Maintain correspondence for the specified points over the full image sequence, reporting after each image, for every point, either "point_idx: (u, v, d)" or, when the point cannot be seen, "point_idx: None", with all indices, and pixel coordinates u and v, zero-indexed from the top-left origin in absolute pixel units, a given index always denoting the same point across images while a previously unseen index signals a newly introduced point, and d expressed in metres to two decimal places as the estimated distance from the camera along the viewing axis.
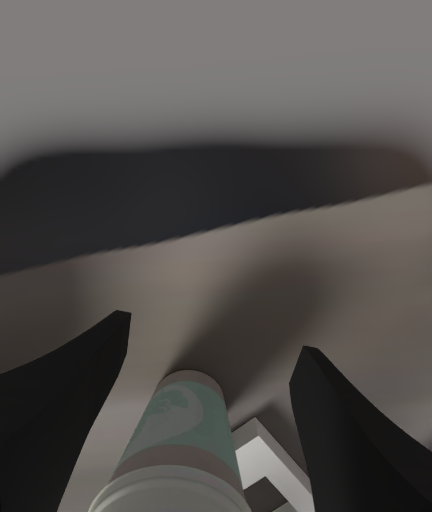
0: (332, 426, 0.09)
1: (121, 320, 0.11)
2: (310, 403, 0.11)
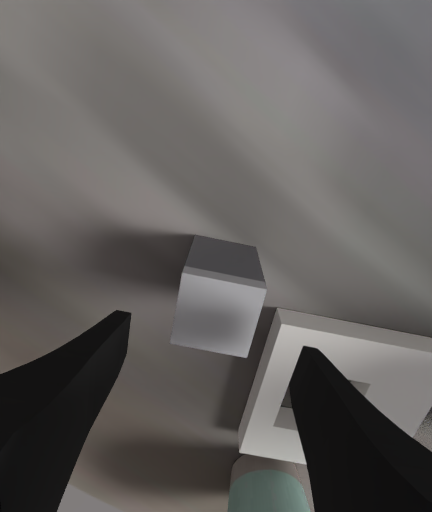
0: (332, 426, 0.09)
1: (121, 320, 0.11)
2: (310, 403, 0.11)
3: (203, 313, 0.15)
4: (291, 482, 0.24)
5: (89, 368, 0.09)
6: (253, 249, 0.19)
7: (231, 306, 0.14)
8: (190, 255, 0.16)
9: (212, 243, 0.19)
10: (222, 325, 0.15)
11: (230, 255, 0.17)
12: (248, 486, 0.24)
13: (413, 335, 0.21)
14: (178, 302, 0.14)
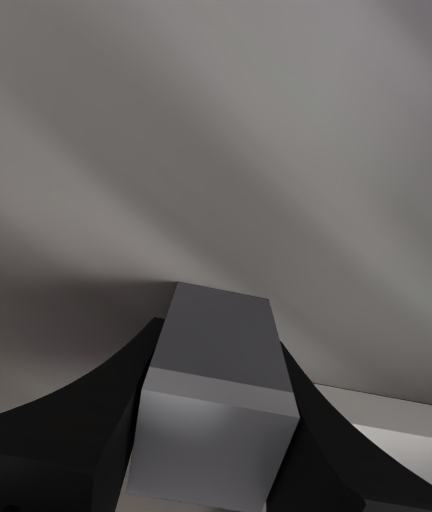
0: None
1: None
2: None
3: (183, 451, 0.08)
4: None
5: (142, 378, 0.09)
6: (265, 305, 0.13)
7: (233, 442, 0.08)
8: (164, 333, 0.10)
9: (203, 299, 0.12)
10: (217, 469, 0.08)
11: (231, 326, 0.11)
12: None
13: None
14: (137, 434, 0.08)
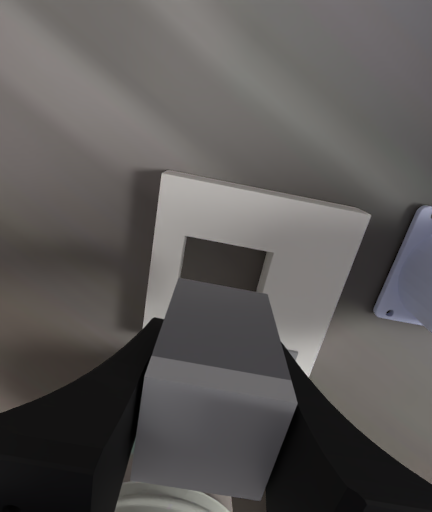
0: None
1: None
2: None
3: (185, 438, 0.08)
4: None
5: (142, 378, 0.09)
6: (264, 299, 0.13)
7: (233, 428, 0.08)
8: (166, 325, 0.10)
9: (203, 293, 0.12)
10: (218, 455, 0.09)
11: (231, 318, 0.11)
12: None
13: (324, 201, 0.19)
14: (140, 421, 0.08)
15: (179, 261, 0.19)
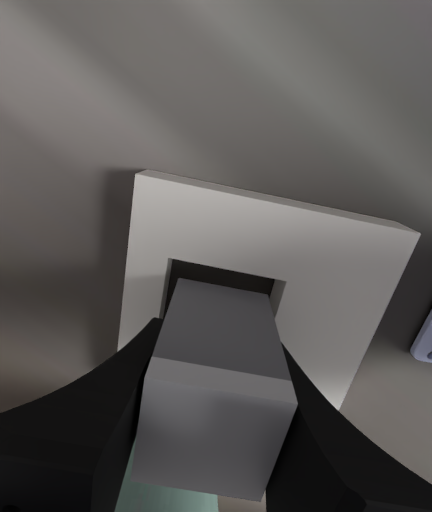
0: None
1: None
2: None
3: (185, 439, 0.08)
4: None
5: (142, 378, 0.09)
6: (264, 300, 0.13)
7: (234, 429, 0.08)
8: (166, 326, 0.10)
9: (203, 294, 0.12)
10: (218, 456, 0.09)
11: (231, 318, 0.11)
12: None
13: (354, 213, 0.14)
14: (140, 422, 0.08)
15: (161, 290, 0.14)
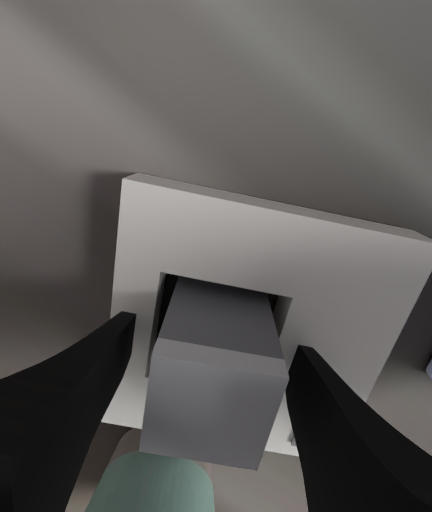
0: (326, 425, 0.09)
1: (127, 321, 0.11)
2: (304, 402, 0.11)
3: (188, 411, 0.09)
4: (185, 468, 0.15)
5: (96, 369, 0.09)
6: None
7: (232, 402, 0.09)
8: (170, 312, 0.11)
9: (204, 284, 0.13)
10: (218, 428, 0.10)
11: (230, 306, 0.12)
12: (114, 475, 0.15)
13: (367, 221, 0.13)
14: (148, 396, 0.09)
15: (153, 307, 0.13)
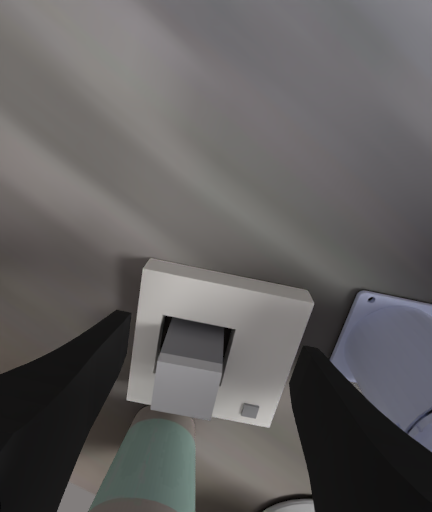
0: (332, 426, 0.09)
1: (121, 320, 0.11)
2: (310, 403, 0.11)
3: (175, 388, 0.19)
4: (177, 429, 0.25)
5: (89, 368, 0.09)
6: None
7: (196, 384, 0.19)
8: (167, 338, 0.21)
9: None
10: (190, 397, 0.19)
11: (200, 334, 0.22)
12: (134, 432, 0.25)
13: (280, 285, 0.23)
14: (155, 381, 0.19)
15: (158, 333, 0.22)
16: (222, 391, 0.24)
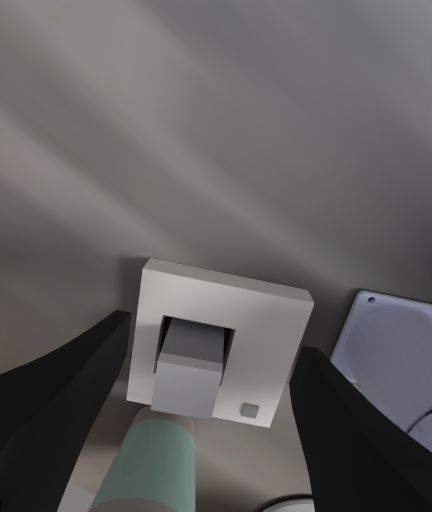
0: (332, 426, 0.09)
1: (121, 320, 0.11)
2: (310, 403, 0.11)
3: (175, 388, 0.19)
4: (177, 429, 0.25)
5: (89, 368, 0.09)
6: None
7: (196, 384, 0.19)
8: (167, 338, 0.21)
9: None
10: (190, 397, 0.19)
11: (200, 334, 0.22)
12: (134, 432, 0.25)
13: (280, 285, 0.23)
14: (155, 381, 0.19)
15: (158, 333, 0.22)
16: (222, 391, 0.24)
